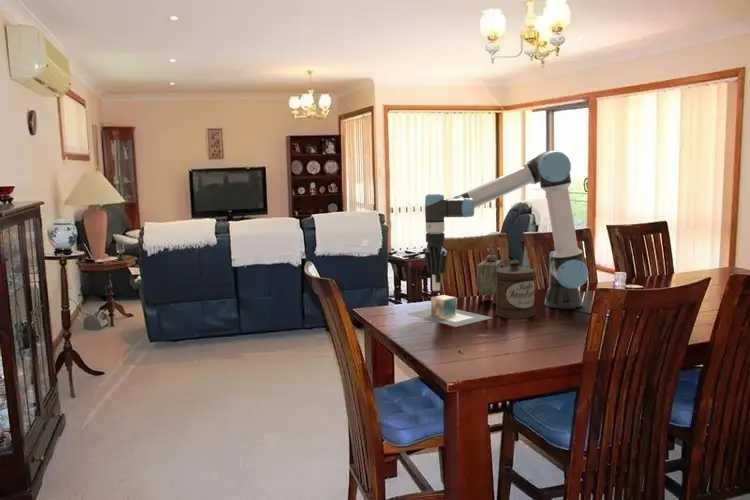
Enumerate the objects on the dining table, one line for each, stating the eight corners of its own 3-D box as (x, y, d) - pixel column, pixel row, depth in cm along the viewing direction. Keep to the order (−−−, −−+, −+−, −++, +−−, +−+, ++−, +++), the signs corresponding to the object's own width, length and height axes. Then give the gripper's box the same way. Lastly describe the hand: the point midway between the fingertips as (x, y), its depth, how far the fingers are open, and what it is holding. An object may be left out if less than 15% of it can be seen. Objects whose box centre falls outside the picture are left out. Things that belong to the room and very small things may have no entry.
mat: (492, 318, 256) (492, 317, 256) (455, 327, 244) (455, 326, 244) (442, 306, 278) (442, 306, 278) (406, 314, 266) (406, 313, 266)
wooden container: (512, 320, 251) (512, 264, 248) (488, 313, 264) (488, 259, 261) (542, 315, 258) (542, 260, 255) (517, 308, 271) (517, 256, 268)
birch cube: (444, 311, 268) (456, 314, 263) (431, 314, 264) (443, 317, 258) (443, 294, 267) (455, 297, 262) (431, 297, 263) (443, 300, 258)
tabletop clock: (496, 305, 279) (496, 246, 275) (476, 303, 283) (475, 246, 279) (505, 298, 292) (505, 242, 288) (485, 296, 295) (485, 242, 292)
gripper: (417, 232, 265) (418, 289, 268) (439, 234, 255) (440, 293, 258) (431, 230, 270) (432, 286, 273) (453, 232, 259) (454, 291, 263)
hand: (436, 290), depth 266 cm, fingers closed
